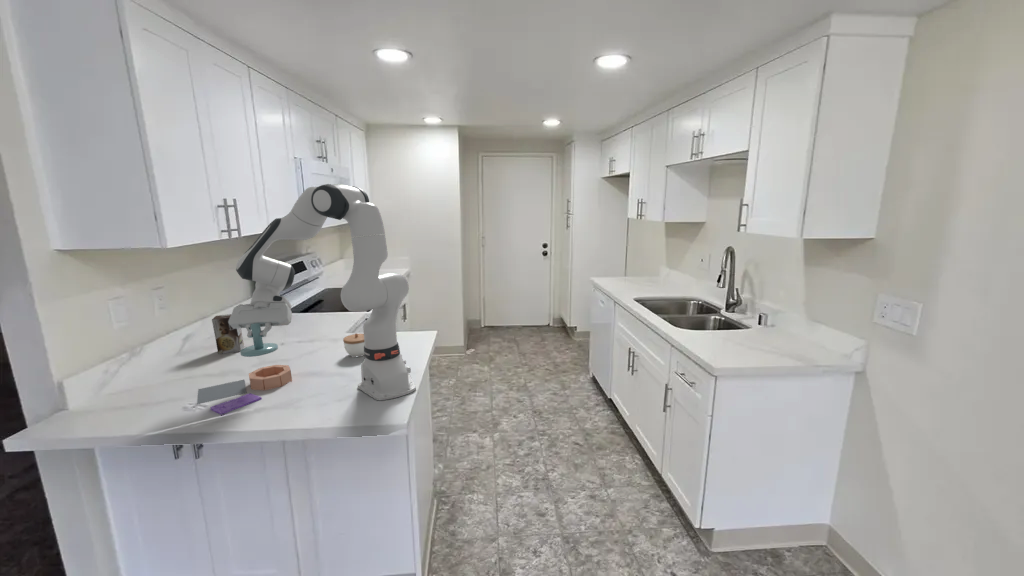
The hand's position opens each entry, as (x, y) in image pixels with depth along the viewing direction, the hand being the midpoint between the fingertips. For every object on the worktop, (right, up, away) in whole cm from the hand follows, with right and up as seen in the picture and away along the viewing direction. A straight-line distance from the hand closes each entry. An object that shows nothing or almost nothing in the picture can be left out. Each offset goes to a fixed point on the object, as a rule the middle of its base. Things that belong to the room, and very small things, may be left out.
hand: (256, 336), depth 153 cm
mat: (-11, -19, -1) cm, 23 cm away
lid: (0, -5, +2) cm, 6 cm away
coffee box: (-36, -11, +42) cm, 57 cm away
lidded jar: (+24, -12, +33) cm, 43 cm away
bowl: (+2, -18, +6) cm, 19 cm away
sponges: (0, -22, -11) cm, 24 cm away
